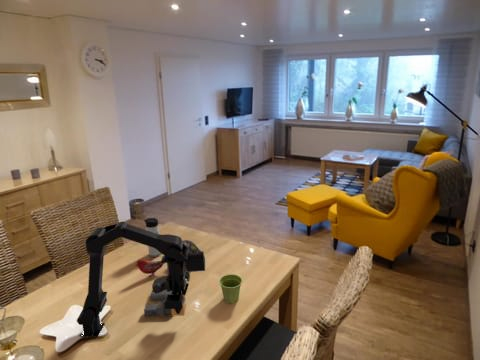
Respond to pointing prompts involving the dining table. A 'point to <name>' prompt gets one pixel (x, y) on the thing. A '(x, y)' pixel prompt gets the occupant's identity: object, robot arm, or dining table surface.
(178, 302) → the robot arm
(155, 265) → the decorative bird figurine
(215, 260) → the dining table surface
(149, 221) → the travel mug
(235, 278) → the plant pot
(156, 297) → the grey rectangular blocks
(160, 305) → the plug
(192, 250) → the decorative flower
